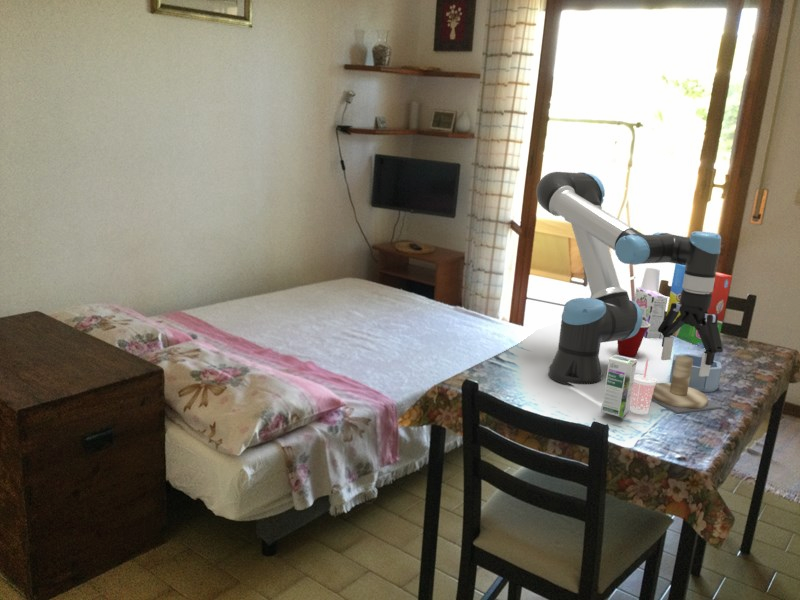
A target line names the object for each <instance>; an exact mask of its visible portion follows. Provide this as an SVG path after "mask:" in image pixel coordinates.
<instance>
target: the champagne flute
mask: <svg viewBox="0 0 800 600" xmlns="http://www.w3.org/2000/svg"><path fill="white" fill-rule="evenodd" d="M659 284H660V269H657V268H653V267H652V268H651V267H649V268H645V271H644V275H643V278H642V283H641V285H640V286H641V287H640V288H641V289H643V290H647V291H655V292H658V293H659V286H660V285H659Z"/></svg>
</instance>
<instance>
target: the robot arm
mask: <svg viewBox="0 0 800 600" xmlns="http://www.w3.org/2000/svg"><path fill="white" fill-rule="evenodd" d="M535 194H536V195H535V196H536V199H537V200H536V201H537V202H538V203H539V205H540V207H542V209H544V210H545V211H546V212H548V213H550V214H551V215H553V216H555V217H560V216H561V217H563V218H564V221H566V222H568V223H570V224H571V228H572V232H573V235H574V238H575V242H576V245H577V249H578V252H579V255H580V258H581V262H582V265H583V270H584V273H585V276H586V279H587V283H588V286H589V290H590V293H591V297H578V298H573V299H570V300H568V301H567V302H566V303H564V307H563V311H562V314H561V321H560V323H561V324H560V330H559V339H558V347H557V351H556V352H555V356H554V358H553V360H552V362H551V363H550V365H549V366H548V368H549V369H548V376H549V378H551V379H552V380H554V381H556V382H558V383H561V384H563V385H567V386H571V387H574V385H575V384H577V385H594V384H598V383H601V381H602V377H603V374H602V370H601V363H600V358H599V355H600V349H601V343H608V342H614V341H617V342H618V341H622V340H624V339H628V338H631V337H633V336H635V335H636V334H637V333H638V331H639V329H640V327H641V325H642V320H643V317H642V311H641V309H640V307H639V306H638V304H636V303H635V302H634V300H631V299H630V297H629V294H628V291H627V290H625V289H623V288H622V287H621V285H620V281H619V279H618V276H617V272H616V268H615V266H614V262H613V259H612V255H611V252H610V249H611V250H613V251H615V256H616V257H617V258H618V259H617V260H619V261H620V262H621V263H622V264H626V265H633V266H636V265H643V264H659V263H660V264H661V263H671V264H680V265H686V266H685V274H684V279H683V285H682V287H683V288H684V289H683V290H682V291H681V297H680V303H672V304H671V307H670V311H669V312H668V314H667V313H666V314H667V315H665V316H664V320H663V322H662V324H661V325H660V327H659V328H658V332H661V336H662V342H661V348H662V352H661V357H660V360H662V361H669V360H671V359H672V358H671V357H672V351H673V347H674V345H673V344H674V339H675V337H674V336H673V334H674V333H675V332H676V331H677V330H678V329H679V328H680V327H681V326H682V325H684V324H689V325H690V326H693V327H695V329H696V330H697V331H698V333H699V335H700V338H701V340H702V343H703V345H704V348H705V349H704V348H703V349H704V350H705V351H702V361H701V367H700V372H699V376H701V377H702V376H709V372H710V367H711V365H712V364H713V361H714V360H715V355H716V354H717V353H723V350H724V349H723V344H722V339H721V336H720V335H721V333H720V334H719V329H718V324H717V321H718V315H716V314H712V315H711V314H708V308H709V307H710V305H711V299H712V294H711V293H710V292H712V291H713V287H714V281H715V275H716V272H717V270H718V264H719V263H718V262H719V258H720V254H721V252H722V251H721V246H722V245H721V244H722V237H721V235H720V234H718V233H715V232H707V231H700V230H699V231H698V230H696V231H692V232H691V234H690V236H689V237H687V236H682V235H675V234H672V233H669V232H655V233H653V234H643V233H642V232H640V231H638V230H636V229H634V228H633V227H631V226H630V225H628V224H627V223H626V222H624V221H622V220H620V219H618V218H617V217H615V216H613V215H612V214H610V213H609V212H606V210H604V209H603V207H602V204H603V203H604V197H605V187H604V184H603V183H602V180H601V179H599V177H598V176H596V175H594V174H593V173H588V172H587V173H586V172H581V171H580V172H568V171H567V172H566V171H564V172H563V171H553V172H549V173H547V174H546V175H543V177H542V178H541V179H540V180H539V181H538V184H537V186H536V189H535ZM679 312H680V314H681V315H680V316H678V317H677V315H678V314H679ZM676 317H677V318H676ZM675 318H676V321H674V320H675ZM701 324H702V325H701Z"/></svg>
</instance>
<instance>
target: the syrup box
mask: <svg viewBox="0 0 800 600" xmlns="http://www.w3.org/2000/svg"><path fill="white" fill-rule="evenodd" d="M637 363H638V358H637V359H636V358H633V357H625V356H621V355H619V354H614V355H612V356H611V357H610V358H609V359H608V364H607V370H606V376H605V377H606V378H605V384H604V390H603V391H604V392H603V397H602V404H601V409H600V412H601V413H603V414H604V413H605V414H608V415H611V416H616V417H619V418H621V419H623V418H624V417H625V415H627V413H629V411H630V399H631V393H632V387H633V381H634V375H635V374H636V367H637V365H638V364H637Z"/></svg>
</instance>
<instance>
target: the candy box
mask: <svg viewBox="0 0 800 600" xmlns="http://www.w3.org/2000/svg"><path fill="white" fill-rule="evenodd" d="M668 299H669V298H668V296H666V295H663V294H662V293H660V292H659V291H658V292H655V291H647V290H643V289H641V287H635V294H634V300H633V302H635V303H636V304H638V306H639V307H640V309H641V311H642V317H643V320H644V321H646V322H648V323H649V324H650V327H648V329H647V330H646V332H645V334H644V337H643V338H645V339H661V336H662V333H661V332H658V328H659V327H660V325H661V324H662V322H663V320H664V319H665V314H666V310H667V308H666V307H667V304H668V303H667V302H668Z"/></svg>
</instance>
